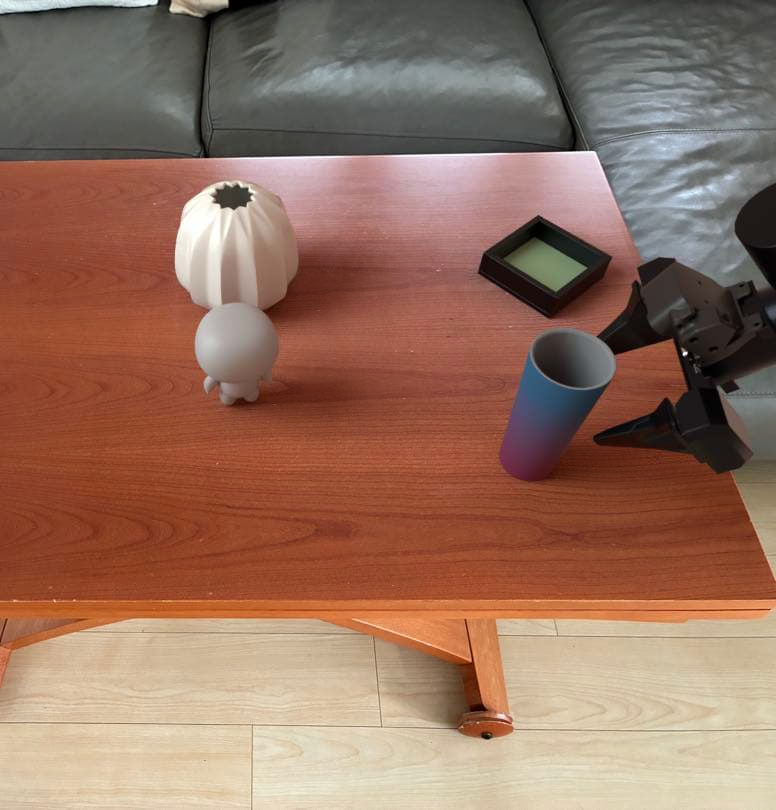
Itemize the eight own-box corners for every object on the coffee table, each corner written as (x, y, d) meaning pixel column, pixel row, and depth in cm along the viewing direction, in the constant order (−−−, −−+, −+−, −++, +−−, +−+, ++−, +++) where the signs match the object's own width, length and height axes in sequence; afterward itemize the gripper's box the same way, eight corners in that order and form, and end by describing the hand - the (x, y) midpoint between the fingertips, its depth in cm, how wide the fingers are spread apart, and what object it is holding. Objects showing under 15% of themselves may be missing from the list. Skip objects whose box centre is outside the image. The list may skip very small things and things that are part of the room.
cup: (565, 493, 72) (622, 393, 60) (491, 485, 73) (533, 385, 61) (558, 435, 76) (611, 331, 64) (488, 428, 77) (527, 324, 65)
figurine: (270, 367, 83) (269, 285, 74) (284, 422, 78) (286, 342, 69) (196, 379, 82) (186, 298, 73) (206, 435, 78) (197, 356, 68)
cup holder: (603, 277, 90) (612, 256, 87) (549, 319, 86) (557, 298, 83) (531, 235, 95) (538, 214, 92) (477, 273, 91) (483, 252, 88)
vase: (310, 264, 93) (315, 169, 82) (271, 344, 85) (271, 251, 75) (206, 240, 96) (197, 146, 86) (159, 315, 89) (144, 222, 78)
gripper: (714, 171, 58) (525, 271, 68) (789, 354, 47) (550, 442, 57) (770, 257, 64) (588, 338, 74) (850, 440, 52) (622, 506, 62)
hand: (587, 398), depth 66 cm, fingers open, 9 cm apart
